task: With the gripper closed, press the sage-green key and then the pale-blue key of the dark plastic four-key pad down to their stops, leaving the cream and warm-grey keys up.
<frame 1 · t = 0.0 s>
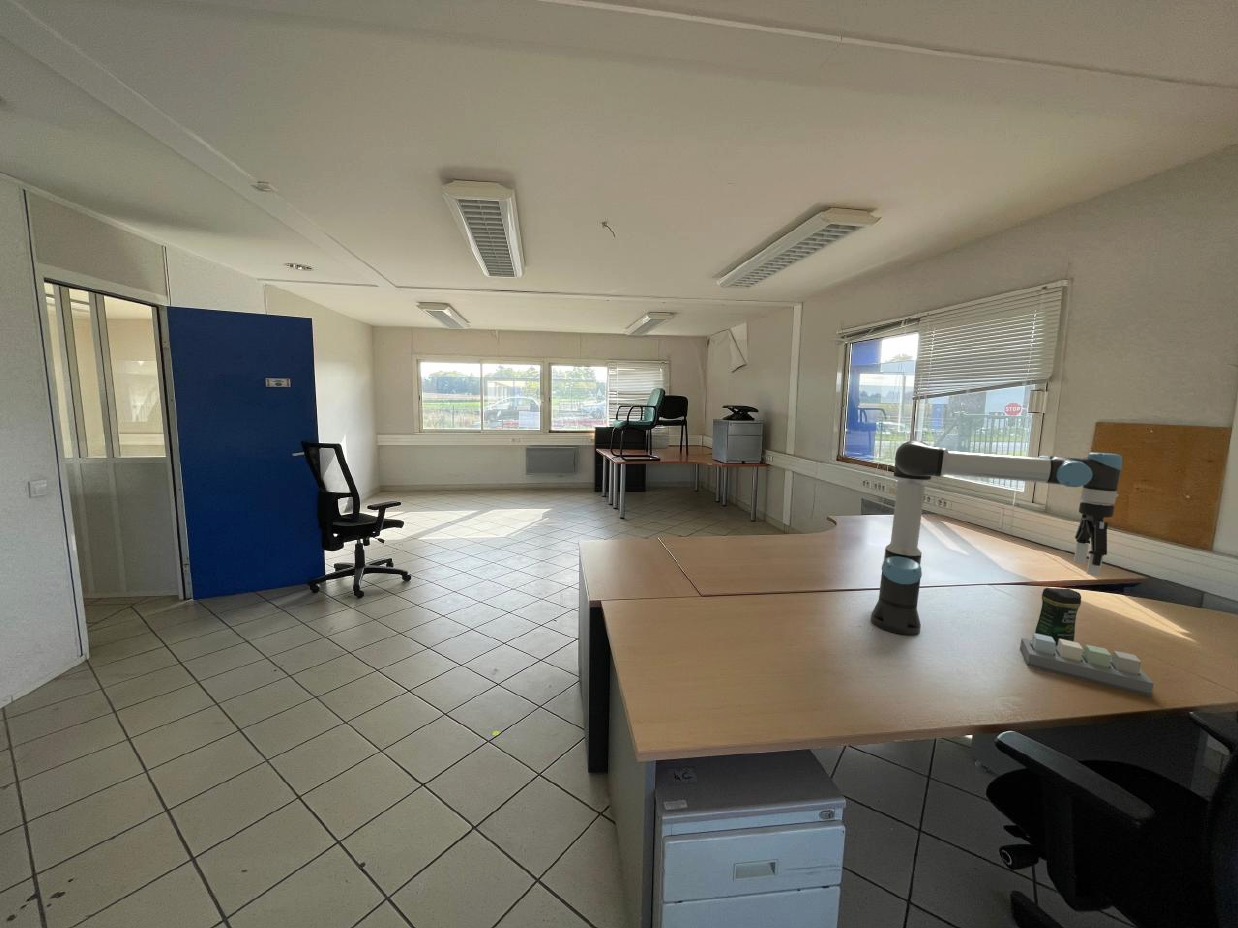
hand: (1085, 568, 148), 28 cm above the table, fingers open, 13 cm apart
coffee jar: (1053, 641, 158), on the table
key grey: (1125, 662, 134), point 6 cm above the table, slide at 0.0 cm
keypad: (1079, 670, 140), on the table
key cream: (1069, 649, 141), point 6 cm above the table, slide at 0.0 cm
key sage: (1097, 655, 137), point 6 cm above the table, slide at 0.0 cm
key blue: (1043, 643, 144), point 6 cm above the table, slide at 0.0 cm
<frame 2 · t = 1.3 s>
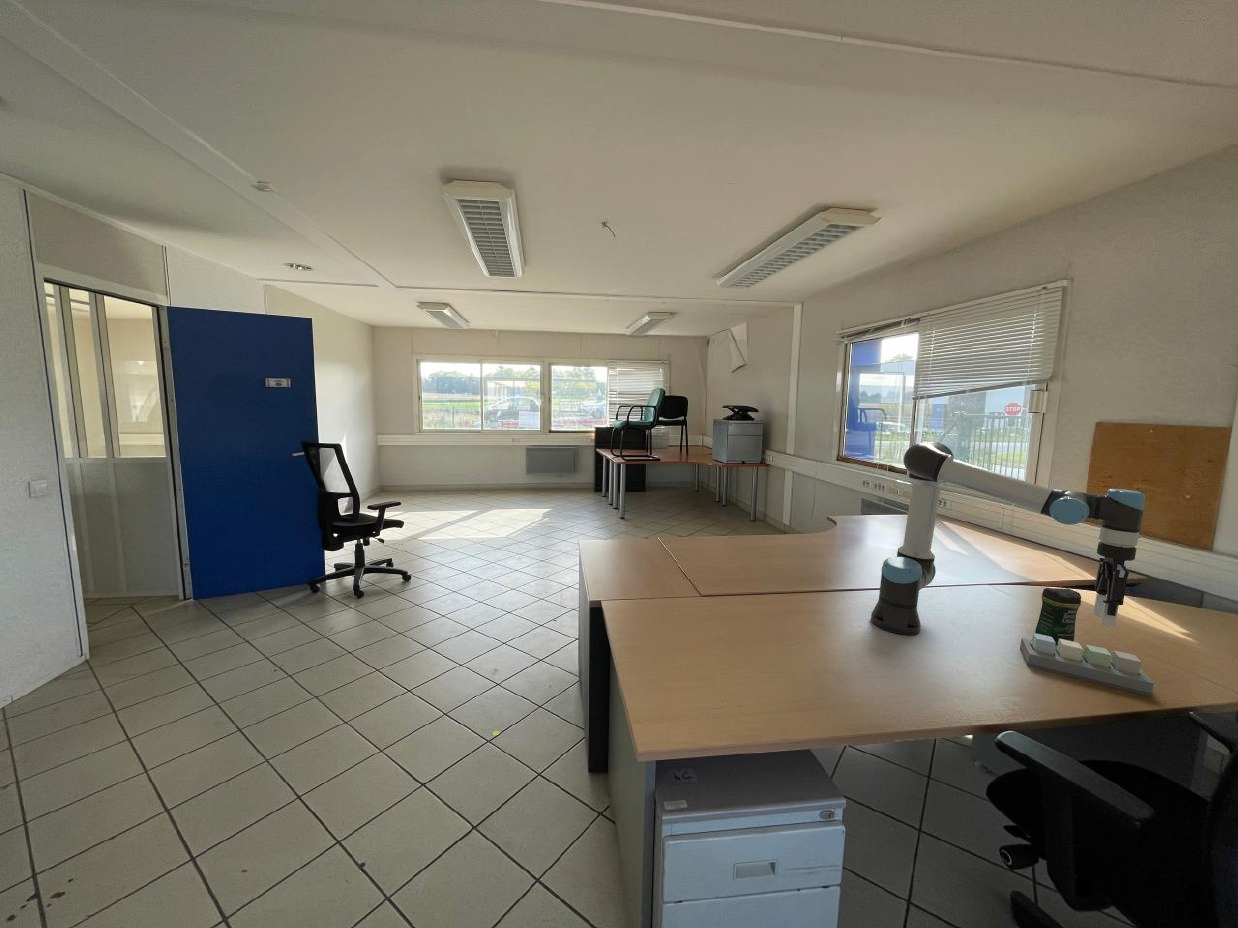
hand: (1103, 620, 136), 17 cm above the table, fingers open, 6 cm apart
nothing on the table moved.
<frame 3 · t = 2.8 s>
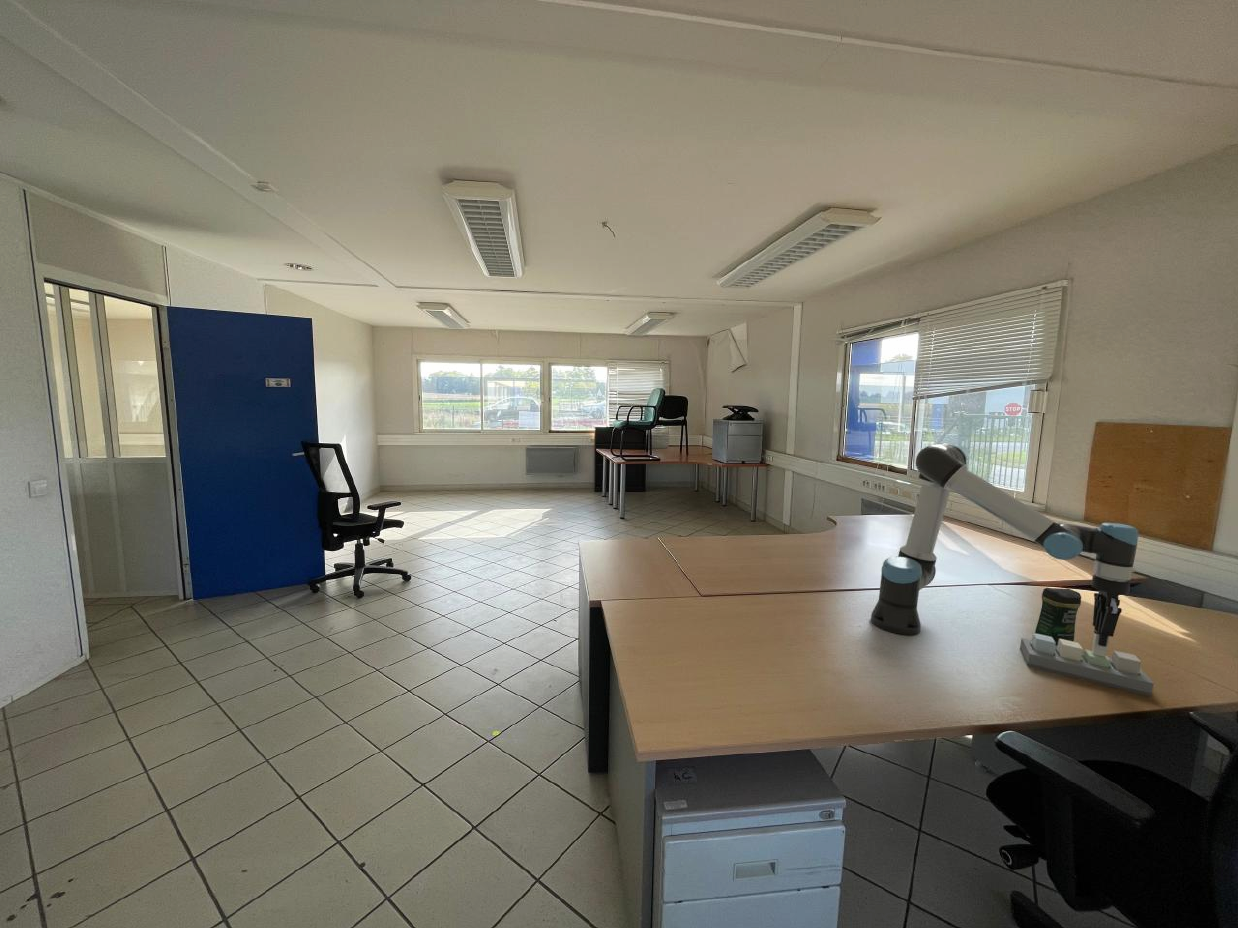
hand: (1098, 654, 137), 6 cm above the table, fingers closed
key sage: (1096, 661, 138), point 4 cm above the table, slide at 1.6 cm, touching gripper
everything else where it was.
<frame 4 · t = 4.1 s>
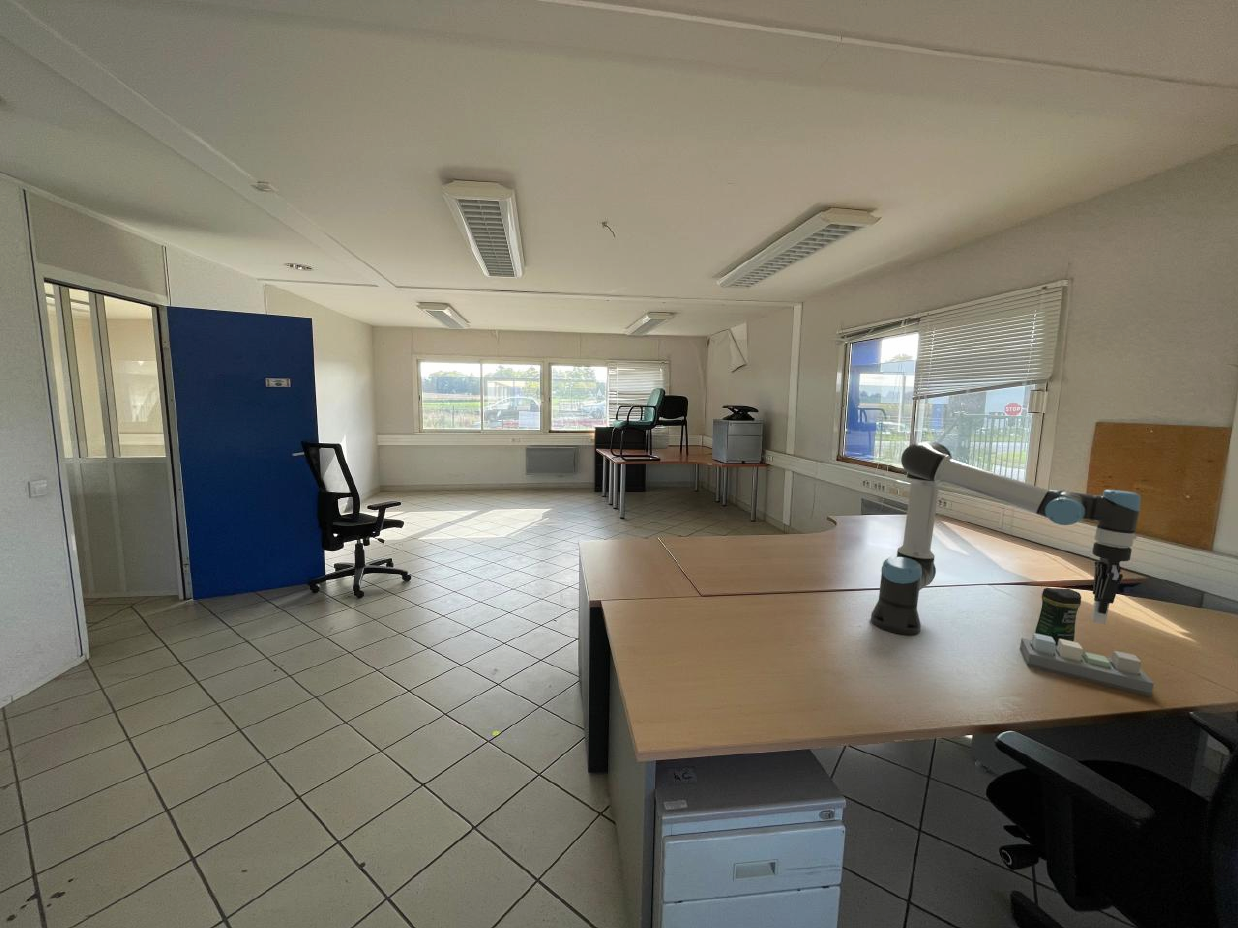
hand: (1098, 622, 137), 16 cm above the table, fingers closed
key sage: (1095, 663, 138), point 3 cm above the table, slide at 2.4 cm
everything else where it was.
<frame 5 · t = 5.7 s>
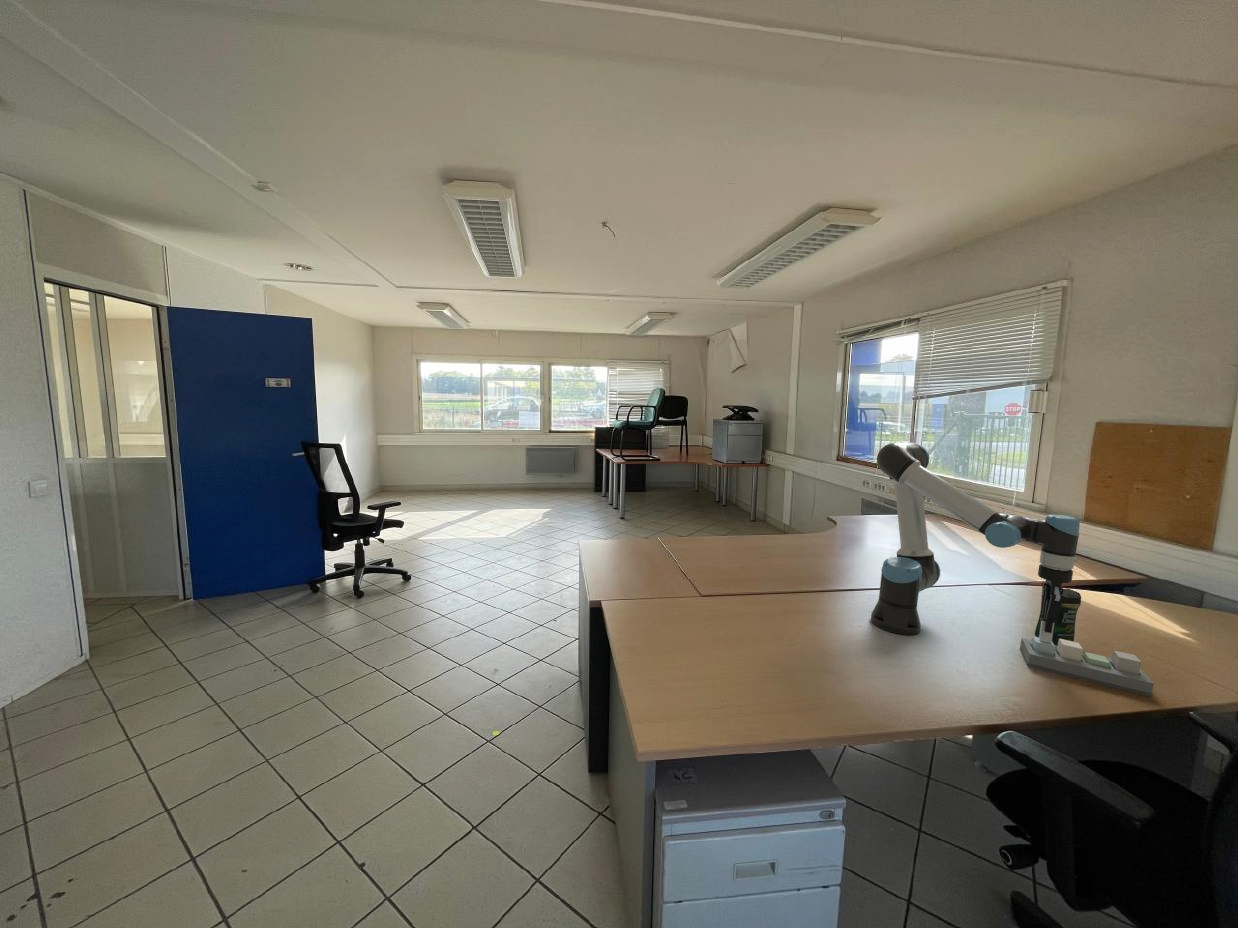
hand: (1045, 640, 143), 7 cm above the table, fingers closed
key blue: (1042, 647, 144), point 5 cm above the table, slide at 1.1 cm, touching gripper
everything else where it was.
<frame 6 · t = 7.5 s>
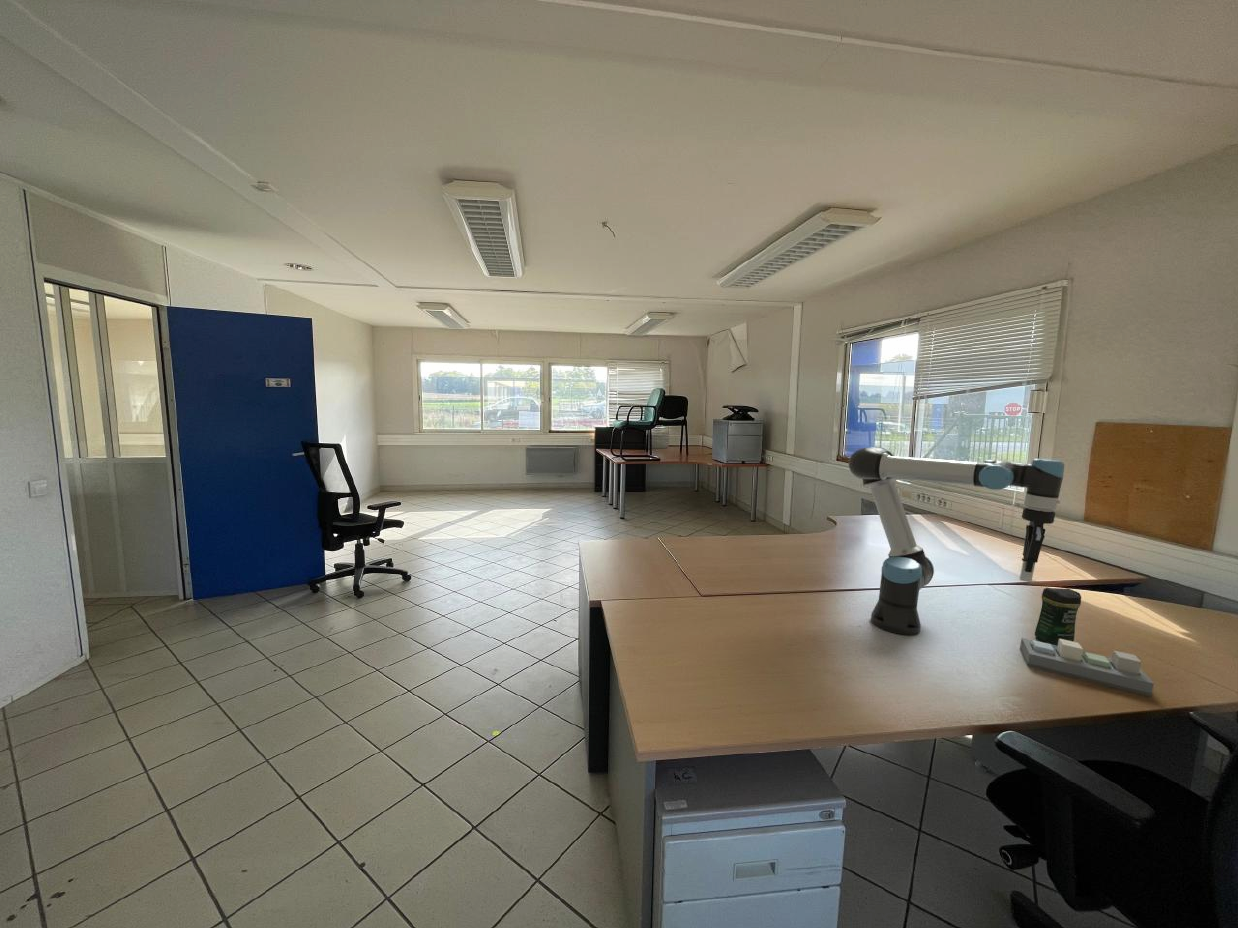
hand: (1025, 580, 149), 23 cm above the table, fingers closed
key blue: (1042, 651, 144), point 3 cm above the table, slide at 2.4 cm
everything else where it was.
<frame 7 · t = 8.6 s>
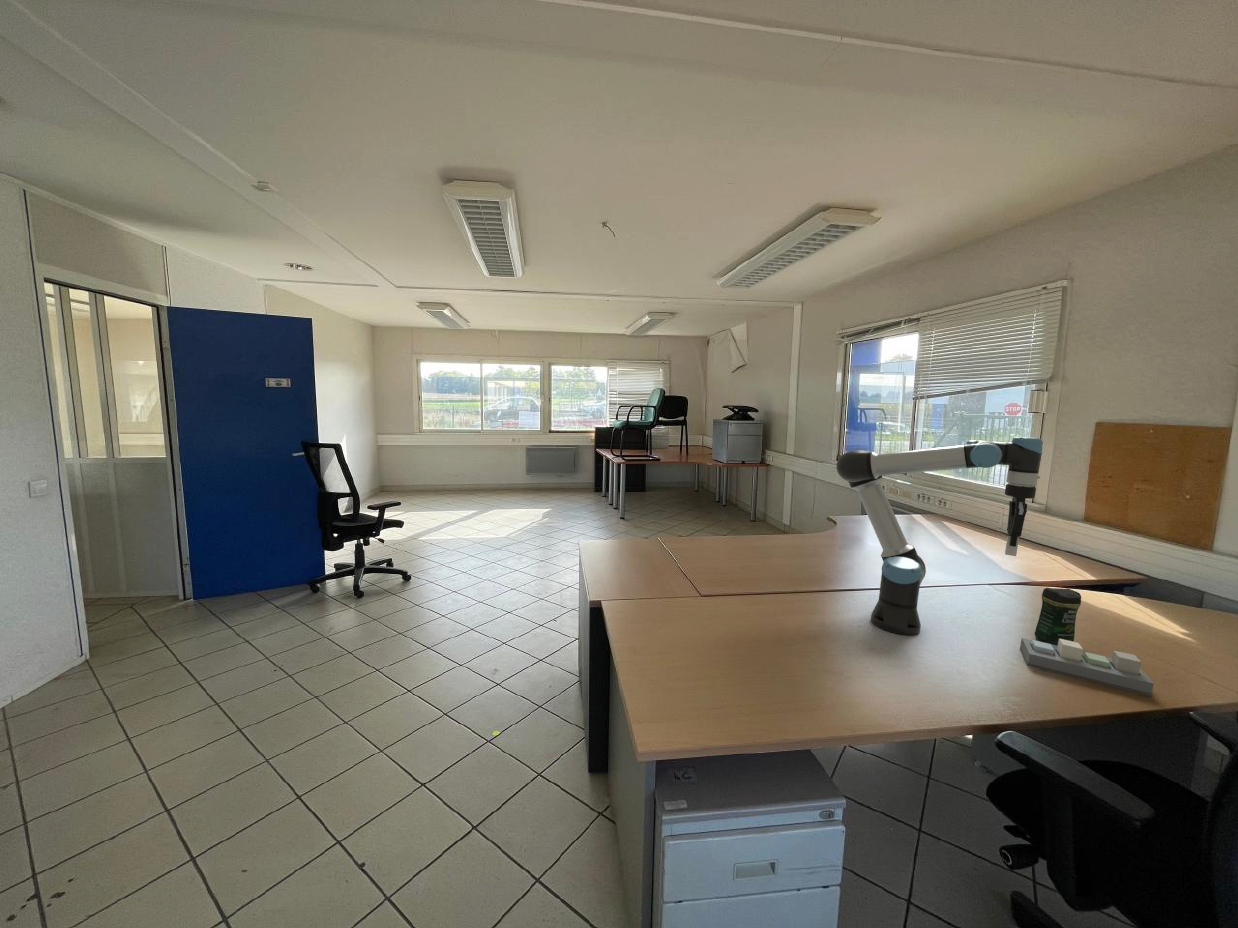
hand: (1010, 554, 155), 29 cm above the table, fingers closed
nothing on the table moved.
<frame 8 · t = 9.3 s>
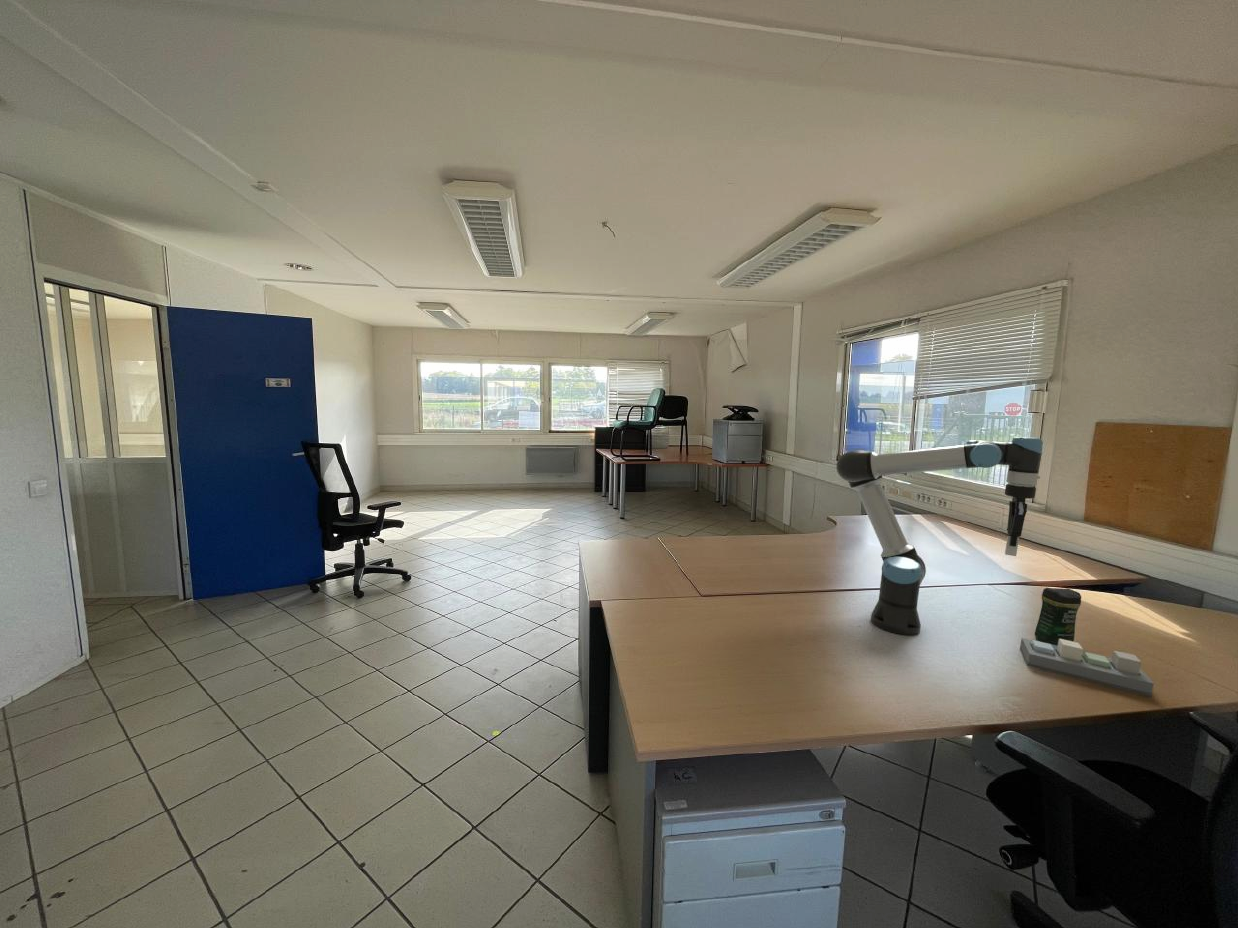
hand: (1010, 554, 155), 29 cm above the table, fingers closed
nothing on the table moved.
at the end: key sage slide at 2.4 cm; key blue slide at 2.4 cm; key cream slide at 0.0 cm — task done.
